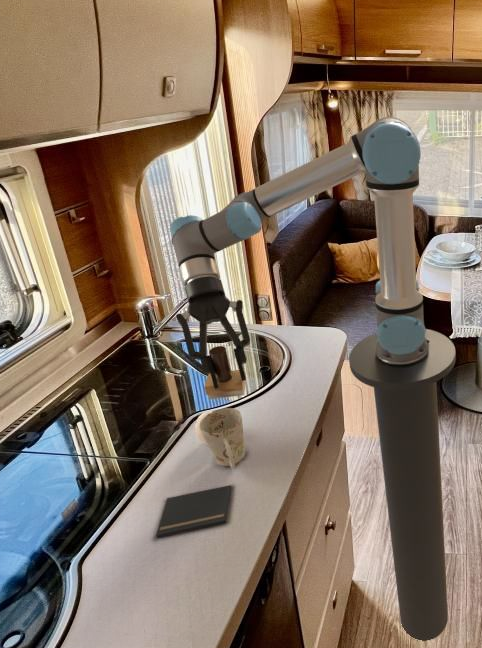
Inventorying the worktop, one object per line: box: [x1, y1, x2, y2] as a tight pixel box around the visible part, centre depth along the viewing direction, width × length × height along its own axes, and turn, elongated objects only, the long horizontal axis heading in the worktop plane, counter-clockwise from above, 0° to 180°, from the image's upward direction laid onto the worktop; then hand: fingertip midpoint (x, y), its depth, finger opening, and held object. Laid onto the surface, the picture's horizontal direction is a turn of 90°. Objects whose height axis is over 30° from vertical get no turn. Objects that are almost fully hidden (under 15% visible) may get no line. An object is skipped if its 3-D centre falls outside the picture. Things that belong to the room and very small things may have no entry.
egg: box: [194, 410, 214, 445], centre depth 112 cm, size 6×6×8 cm
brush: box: [203, 345, 247, 401], centre depth 105 cm, size 7×5×10 cm, turn 102°
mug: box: [199, 407, 246, 469], centre depth 105 cm, size 8×13×10 cm, turn 33°
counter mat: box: [155, 484, 232, 538], centre depth 96 cm, size 12×9×1 cm
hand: (230, 382), depth 102 cm, fingers closed on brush, 5 cm apart
